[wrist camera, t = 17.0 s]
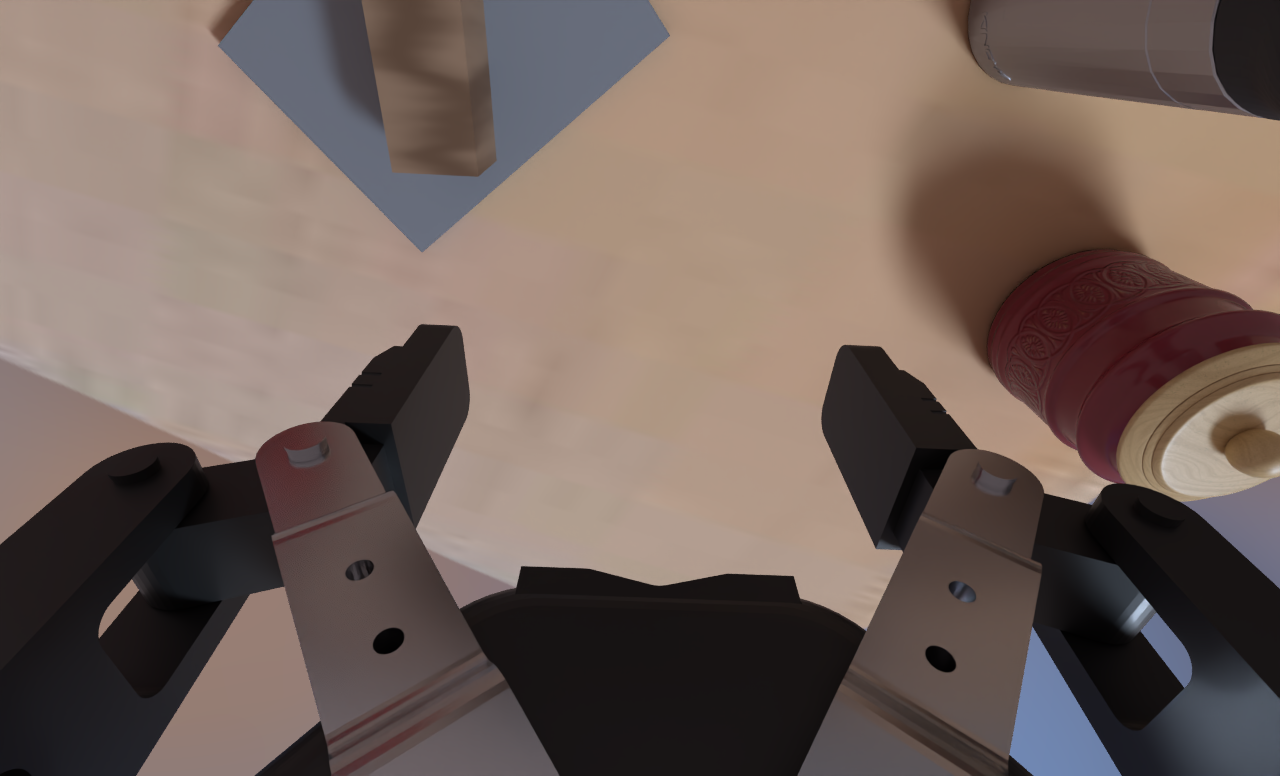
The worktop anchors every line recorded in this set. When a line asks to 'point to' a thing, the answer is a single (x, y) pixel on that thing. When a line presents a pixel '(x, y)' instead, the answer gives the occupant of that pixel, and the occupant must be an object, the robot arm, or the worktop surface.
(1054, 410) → the canister
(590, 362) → the worktop surface
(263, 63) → the grey mat
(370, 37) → the walnut block
